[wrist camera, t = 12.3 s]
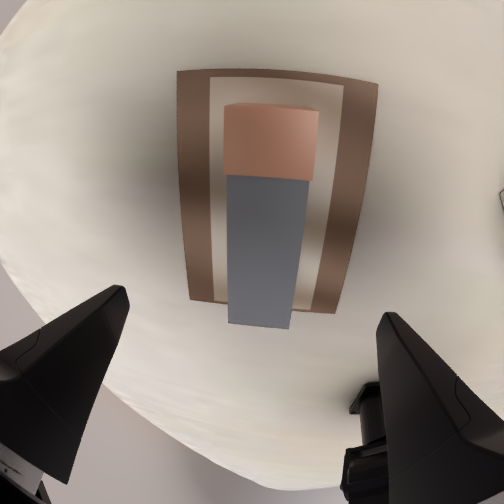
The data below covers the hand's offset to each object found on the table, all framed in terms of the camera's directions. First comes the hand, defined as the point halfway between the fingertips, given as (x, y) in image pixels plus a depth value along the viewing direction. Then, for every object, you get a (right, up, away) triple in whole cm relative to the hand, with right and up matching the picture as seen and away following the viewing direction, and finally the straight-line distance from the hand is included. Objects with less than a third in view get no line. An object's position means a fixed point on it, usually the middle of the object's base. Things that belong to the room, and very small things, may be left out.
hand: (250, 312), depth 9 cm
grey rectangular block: (+1, +4, +8) cm, 9 cm away
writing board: (+1, +5, +8) cm, 10 cm away
